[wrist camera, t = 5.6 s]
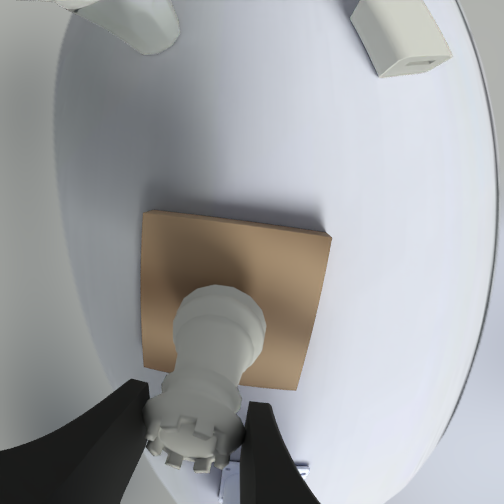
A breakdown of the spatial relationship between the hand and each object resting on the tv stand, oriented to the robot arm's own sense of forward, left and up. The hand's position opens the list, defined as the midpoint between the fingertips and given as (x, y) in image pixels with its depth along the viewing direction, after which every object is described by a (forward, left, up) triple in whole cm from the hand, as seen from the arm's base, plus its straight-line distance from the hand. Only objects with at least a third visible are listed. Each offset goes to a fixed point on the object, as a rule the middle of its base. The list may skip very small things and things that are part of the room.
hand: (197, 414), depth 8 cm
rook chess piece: (0, 0, -6) cm, 6 cm away
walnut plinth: (0, 0, -9) cm, 9 cm away
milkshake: (+16, +7, -10) cm, 20 cm away
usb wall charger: (+19, -7, -10) cm, 22 cm away
